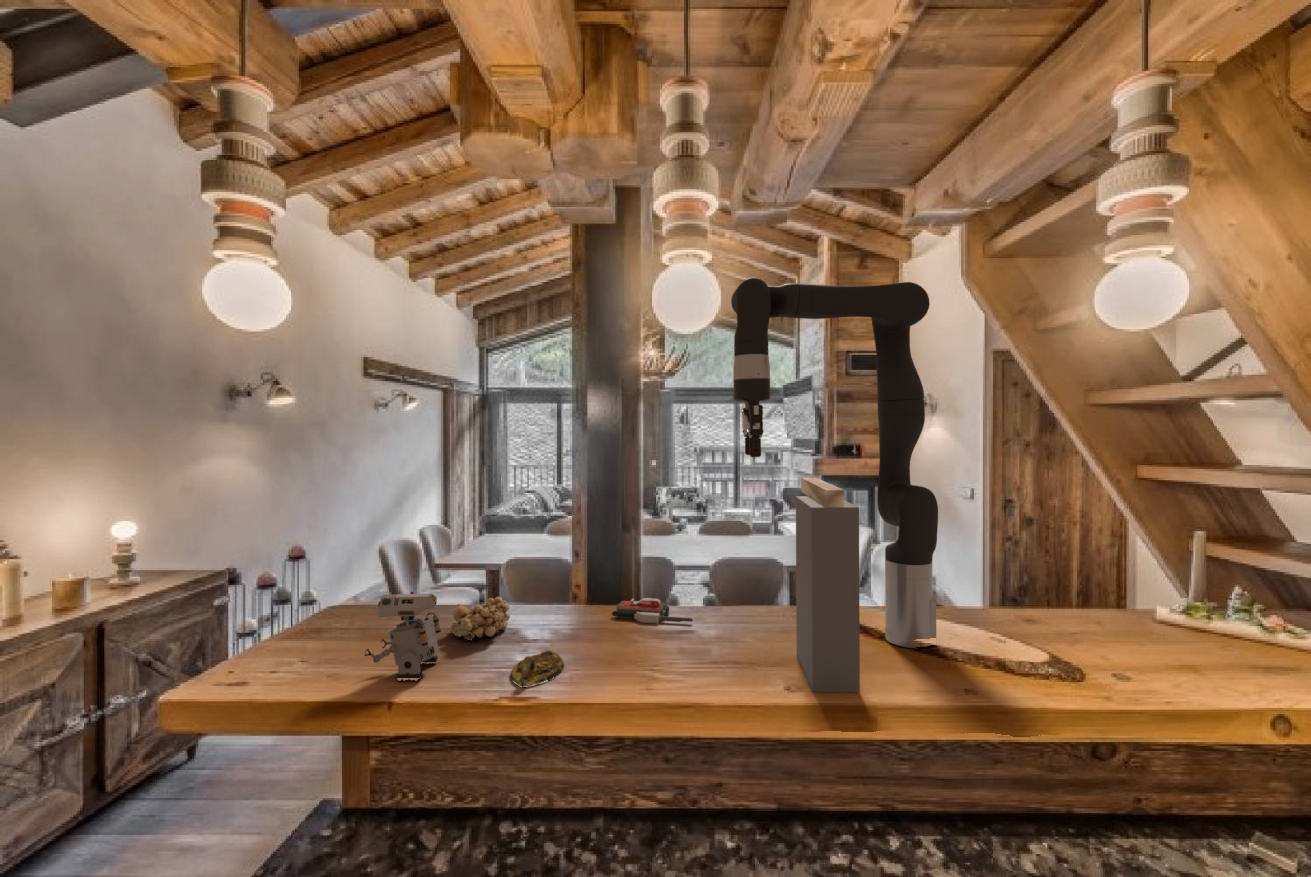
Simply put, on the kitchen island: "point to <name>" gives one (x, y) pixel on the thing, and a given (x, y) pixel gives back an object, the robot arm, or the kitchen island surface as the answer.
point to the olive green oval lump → (537, 668)
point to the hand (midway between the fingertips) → (752, 455)
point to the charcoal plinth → (828, 595)
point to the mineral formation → (480, 619)
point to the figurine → (410, 632)
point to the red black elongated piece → (646, 611)
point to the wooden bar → (823, 492)
